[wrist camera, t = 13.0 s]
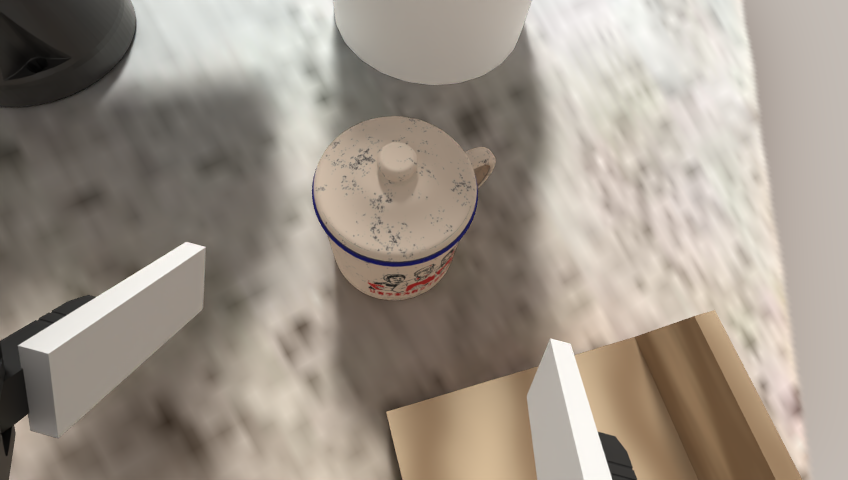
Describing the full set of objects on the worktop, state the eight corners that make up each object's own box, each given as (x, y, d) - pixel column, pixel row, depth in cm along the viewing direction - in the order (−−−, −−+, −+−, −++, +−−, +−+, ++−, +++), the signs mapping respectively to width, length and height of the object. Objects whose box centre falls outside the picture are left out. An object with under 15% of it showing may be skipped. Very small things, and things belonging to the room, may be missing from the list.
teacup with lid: (371, 330, 30) (363, 280, 20) (307, 224, 33) (268, 127, 22) (512, 243, 34) (571, 159, 23) (444, 152, 36) (468, 37, 25)
